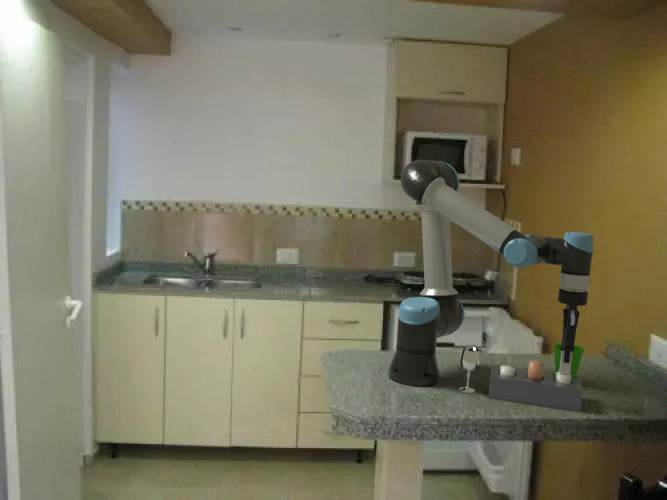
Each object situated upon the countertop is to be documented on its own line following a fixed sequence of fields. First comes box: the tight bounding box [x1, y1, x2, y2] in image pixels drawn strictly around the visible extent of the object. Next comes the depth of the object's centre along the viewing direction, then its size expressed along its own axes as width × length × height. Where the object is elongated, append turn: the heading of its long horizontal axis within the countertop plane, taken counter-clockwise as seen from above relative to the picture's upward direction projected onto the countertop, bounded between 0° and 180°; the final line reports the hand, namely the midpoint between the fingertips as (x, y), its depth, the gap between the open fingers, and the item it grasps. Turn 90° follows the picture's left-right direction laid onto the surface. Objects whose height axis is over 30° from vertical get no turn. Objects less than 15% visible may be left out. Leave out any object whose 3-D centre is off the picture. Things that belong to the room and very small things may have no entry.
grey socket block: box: [488, 364, 584, 412], centre depth 182 cm, size 24×12×6 cm, turn 75°
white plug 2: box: [555, 372, 572, 384], centre depth 180 cm, size 4×4×7 cm
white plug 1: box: [500, 365, 516, 376], centre depth 184 cm, size 4×4×7 cm
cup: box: [552, 343, 585, 377], centre depth 197 cm, size 9×9×11 cm
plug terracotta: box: [527, 359, 545, 380], centre depth 182 cm, size 4×4×7 cm
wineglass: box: [459, 346, 481, 394], centre depth 184 cm, size 6×6×12 cm
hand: (564, 373), depth 179 cm, fingers closed
